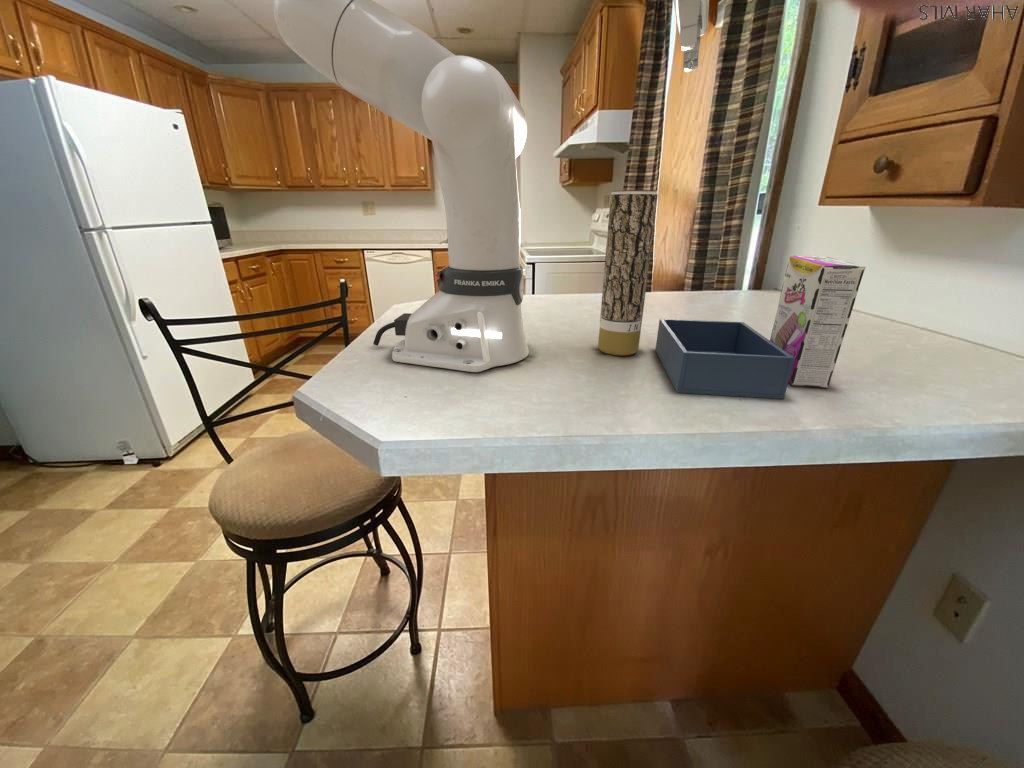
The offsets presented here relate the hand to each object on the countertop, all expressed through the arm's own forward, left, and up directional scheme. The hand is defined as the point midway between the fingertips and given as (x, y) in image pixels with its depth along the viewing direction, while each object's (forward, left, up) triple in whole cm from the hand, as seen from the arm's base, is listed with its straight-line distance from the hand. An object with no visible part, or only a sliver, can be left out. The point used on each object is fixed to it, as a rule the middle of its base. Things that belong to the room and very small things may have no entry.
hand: (689, 59), depth 52 cm
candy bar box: (+21, -2, -40) cm, 45 cm away
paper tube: (-4, +5, -40) cm, 40 cm away
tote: (+9, -3, -40) cm, 41 cm away
